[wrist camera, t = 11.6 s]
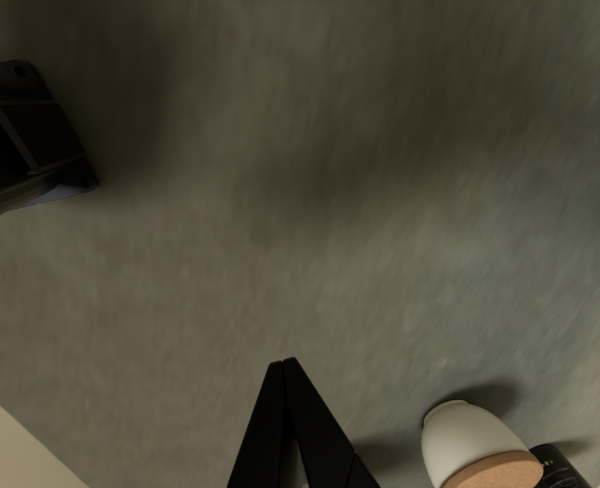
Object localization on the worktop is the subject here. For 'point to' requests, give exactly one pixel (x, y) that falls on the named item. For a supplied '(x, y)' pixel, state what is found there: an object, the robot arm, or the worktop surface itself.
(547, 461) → the supplement bottle
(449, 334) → the worktop surface
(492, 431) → the lidded jar
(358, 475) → the robot arm
